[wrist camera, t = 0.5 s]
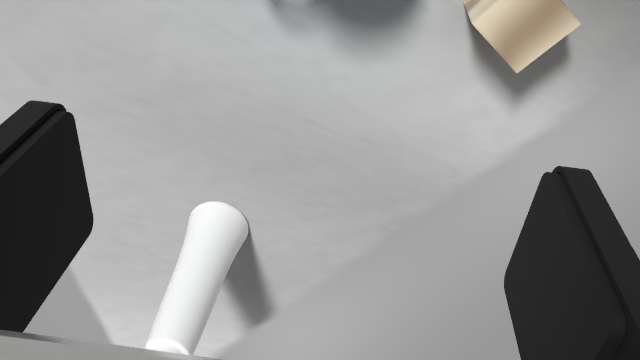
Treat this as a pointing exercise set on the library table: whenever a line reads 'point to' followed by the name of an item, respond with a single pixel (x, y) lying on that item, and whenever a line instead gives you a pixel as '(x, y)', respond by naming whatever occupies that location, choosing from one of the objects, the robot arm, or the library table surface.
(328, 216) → the library table surface
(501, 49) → the maple cube
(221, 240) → the cosmetic bottle
